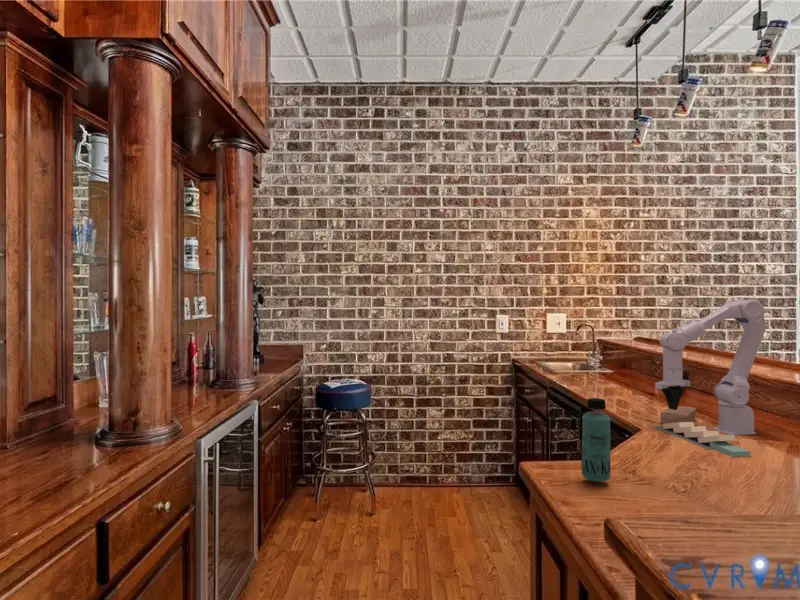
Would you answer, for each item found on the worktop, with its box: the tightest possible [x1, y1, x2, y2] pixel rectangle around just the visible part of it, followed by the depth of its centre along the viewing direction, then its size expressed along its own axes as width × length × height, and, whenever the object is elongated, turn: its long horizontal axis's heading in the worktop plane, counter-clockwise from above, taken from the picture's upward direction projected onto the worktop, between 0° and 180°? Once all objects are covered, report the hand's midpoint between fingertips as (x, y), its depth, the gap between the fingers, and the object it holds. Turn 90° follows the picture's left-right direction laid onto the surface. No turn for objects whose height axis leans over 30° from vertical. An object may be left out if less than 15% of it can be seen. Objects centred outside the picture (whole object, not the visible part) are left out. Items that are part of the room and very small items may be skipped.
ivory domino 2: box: [673, 425, 708, 433], centre depth 157 cm, size 5×2×9 cm
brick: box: [659, 405, 697, 425], centre depth 177 cm, size 17×8×5 cm, turn 139°
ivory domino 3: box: [684, 430, 720, 438], centre depth 152 cm, size 5×2×9 cm
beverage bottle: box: [580, 397, 612, 482], centre depth 117 cm, size 6×7×20 cm
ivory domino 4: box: [698, 434, 737, 443], centre depth 146 cm, size 5×2×9 cm
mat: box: [650, 425, 716, 451], centre depth 157 cm, size 9×28×1 cm, turn 5°
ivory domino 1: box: [662, 421, 695, 429], centre depth 163 cm, size 5×2×9 cm
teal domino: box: [710, 441, 751, 458], centre depth 140 cm, size 5×2×9 cm
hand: (673, 409), depth 165 cm, fingers closed
